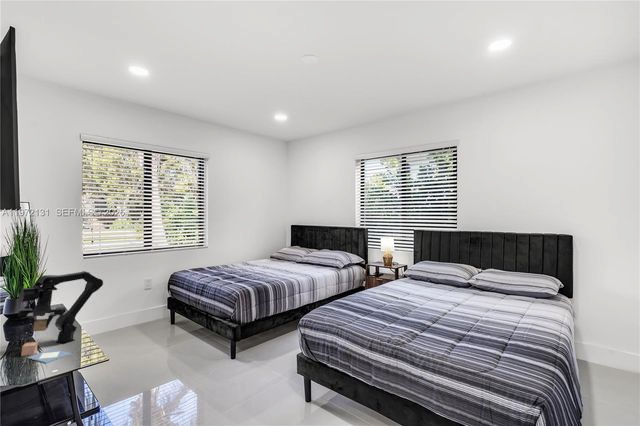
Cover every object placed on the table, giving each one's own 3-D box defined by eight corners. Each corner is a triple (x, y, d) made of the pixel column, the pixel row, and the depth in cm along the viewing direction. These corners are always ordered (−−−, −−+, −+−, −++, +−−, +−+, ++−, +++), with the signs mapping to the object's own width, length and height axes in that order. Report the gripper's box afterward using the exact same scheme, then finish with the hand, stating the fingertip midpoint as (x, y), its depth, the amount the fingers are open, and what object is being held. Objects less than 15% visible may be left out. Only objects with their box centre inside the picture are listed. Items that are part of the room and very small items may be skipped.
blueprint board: (52, 349, 168) (52, 348, 168) (70, 354, 165) (71, 353, 165) (27, 358, 157) (27, 357, 157) (46, 363, 153) (46, 362, 153)
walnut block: (36, 328, 171) (37, 319, 171) (47, 327, 173) (49, 318, 173) (33, 331, 166) (34, 321, 166) (45, 330, 168) (46, 321, 169)
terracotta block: (24, 352, 163) (25, 342, 163) (36, 351, 165) (38, 341, 165) (21, 356, 158) (22, 346, 159) (33, 355, 161) (35, 345, 161)
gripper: (16, 303, 159) (12, 333, 158) (62, 302, 168) (58, 331, 167) (24, 297, 169) (20, 326, 168) (67, 297, 177) (63, 324, 177)
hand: (40, 327), depth 170 cm, fingers closed on walnut block, 5 cm apart
